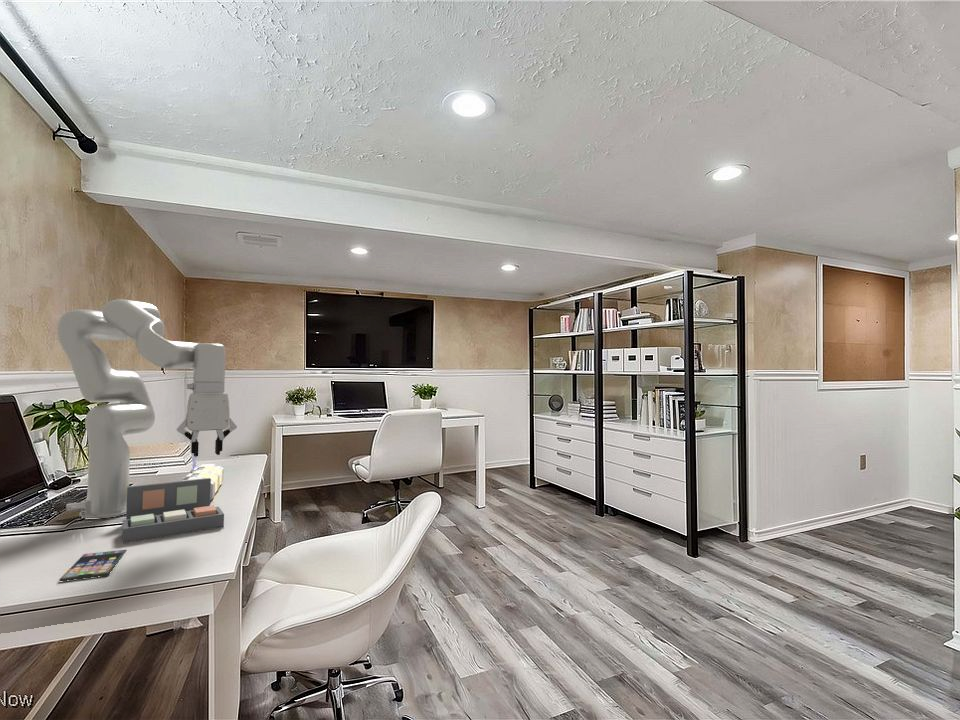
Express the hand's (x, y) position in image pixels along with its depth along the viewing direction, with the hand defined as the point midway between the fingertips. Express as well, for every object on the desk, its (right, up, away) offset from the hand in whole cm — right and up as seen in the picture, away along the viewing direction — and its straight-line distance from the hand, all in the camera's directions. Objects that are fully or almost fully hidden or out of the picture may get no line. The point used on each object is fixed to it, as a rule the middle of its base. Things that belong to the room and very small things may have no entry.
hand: (206, 454), depth 132 cm
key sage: (-12, -17, -9) cm, 22 cm away
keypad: (-9, -19, 0) cm, 21 cm away
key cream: (-6, -17, -4) cm, 19 cm away
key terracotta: (0, -17, 0) cm, 17 cm away
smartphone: (-9, -19, -27) cm, 34 cm away
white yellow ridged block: (-19, -20, +31) cm, 41 cm away
